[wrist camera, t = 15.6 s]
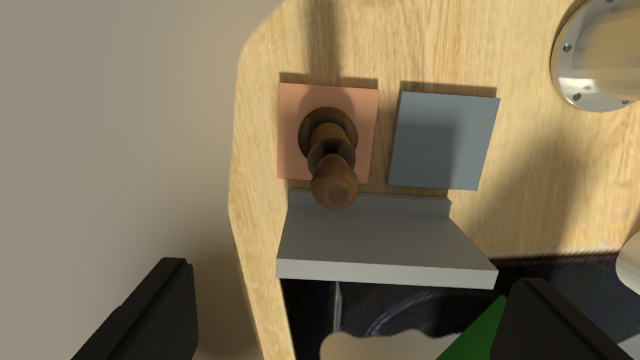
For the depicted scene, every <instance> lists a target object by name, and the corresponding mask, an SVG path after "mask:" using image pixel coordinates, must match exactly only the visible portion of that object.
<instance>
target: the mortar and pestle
mask: <svg viewBox="0 0 640 360" xmlns="http://www.w3.org/2000/svg"><path fill="white" fill-rule="evenodd" d="M298 144H299V148H300V150H301V152H302V154H303V155H304V157H305V158H306V159H307V165H308V169H309V171H310V173H311V175H312V176H313V177H312V180H311V191H312V195H313V197H314V199H315V200H316V202H317V203H318V204H319V205H320V206H322V207H323V208H325V209H328V210H334V211H336V210H342V209H345V208H347V207H348V206H350V205H351V204H352V203H353V202H354V201H355V199H356V198H357V195H358V192H359V181H358V178H357V176H356V174H355V172H354V171H353V170H354V168H355V164H356V154H355V150H356V148H357V144H358V132H357V129H356V126H355V124H354V123H353V121H352V120H351V118H350V117H349V116H348V115H347V114H346V113H344V112H343V111H341V110H339V109H337V108H334V107H320V108H317V109H315V110H313V111H311V112H310V113H308V114H307V115H306V116H305V118H304V119H303V120H302V122H301V124H300V127H299V131H298Z"/></svg>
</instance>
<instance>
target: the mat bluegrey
mask: <svg viewBox="0 0 640 360" xmlns="http://www.w3.org/2000/svg"><path fill="white" fill-rule="evenodd" d="M500 99H501V98H493V97H479V96H465V95H450V94H436V93H422V92H408V91H400V94H399V101H398V108H397V115H396V121H395V128H394V135H393V141H392V148H391V155H390V162H389V168H388V175H387V182H386V183H387V184H388V185H393V186H409V187H425V188H441V189H457V190H473V191H477V189H478V185H479V181H480V177H481V173H482V169H483V165H484V162H485V158H486V154H487V150H488V146H489V142H490V138H491V134H492V130H493V126H494V123H495V119H496V115H497V111H498V107H499V103H500Z"/></svg>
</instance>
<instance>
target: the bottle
mask: <svg viewBox="0 0 640 360" xmlns="http://www.w3.org/2000/svg"><path fill="white" fill-rule="evenodd" d="M616 272H617V275H618V277H619V279H620V280H621V281H622V282H623V283H624V284H625V285H626V286H628V287H629V288H631V289H632V290H634V291H635V292H636V293H638V294H639V295H640V230H639V231H638V232H637V233H635V234H634V235H633V236H632V237H631V238H630V239H629V240H628V241H627V242H626V243H625V244H624V246H623V247H622V249H621V250H620V253H619V255H618V257H617V261H616Z"/></svg>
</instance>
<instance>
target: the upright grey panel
mask: <svg viewBox="0 0 640 360" xmlns="http://www.w3.org/2000/svg"><path fill="white" fill-rule="evenodd" d="M451 205H452V202H451V201H450V200H449V199H448V198H447V197H432V196H416V195H400V194H384V193H367V192H358V195H357V198H356V199H355V201H354V202H353V203H352V204H351V205H350V206H348V207H347V208H345V209H342V210H336V211H334V210H328V209H325V208H323V207H322V206H320V205H319V204H318V203H317V202H316V200H315V199H314V197H313V195H312V191H311V189H303V188H290V190H289V203H288V211H287V215H286V219H285V224H284V228H283V232H282V236H281V241H280V245H279V249H278V253H277V258H276V278H294V279H312V280H331V281H349V282H368V283H386V284H404V285H423V286H441V287H460V288H478V289H493V288H494V285H495V282H496V278H497V275H498V272H499V271H498V270H497V269H496V267H495V266H494V265H493V264H492V263H491V262H490V261H489V260H488V259H487V258H486V257H485V256H484V255H483V253H482V252H481V251H480V250H479V249H478V248H477V247H476V246H475V245H474V244H473V243H472V242H471V240H470V239H469V238H468V237H467V236H466V235H465V234H464V233H463V232H462V231H461V230H460V229H459V227H458V226H457V225H456V224H455V223H454V222H453V221H452V220H451V219H450V218H449V213H450V209H451Z"/></svg>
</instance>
